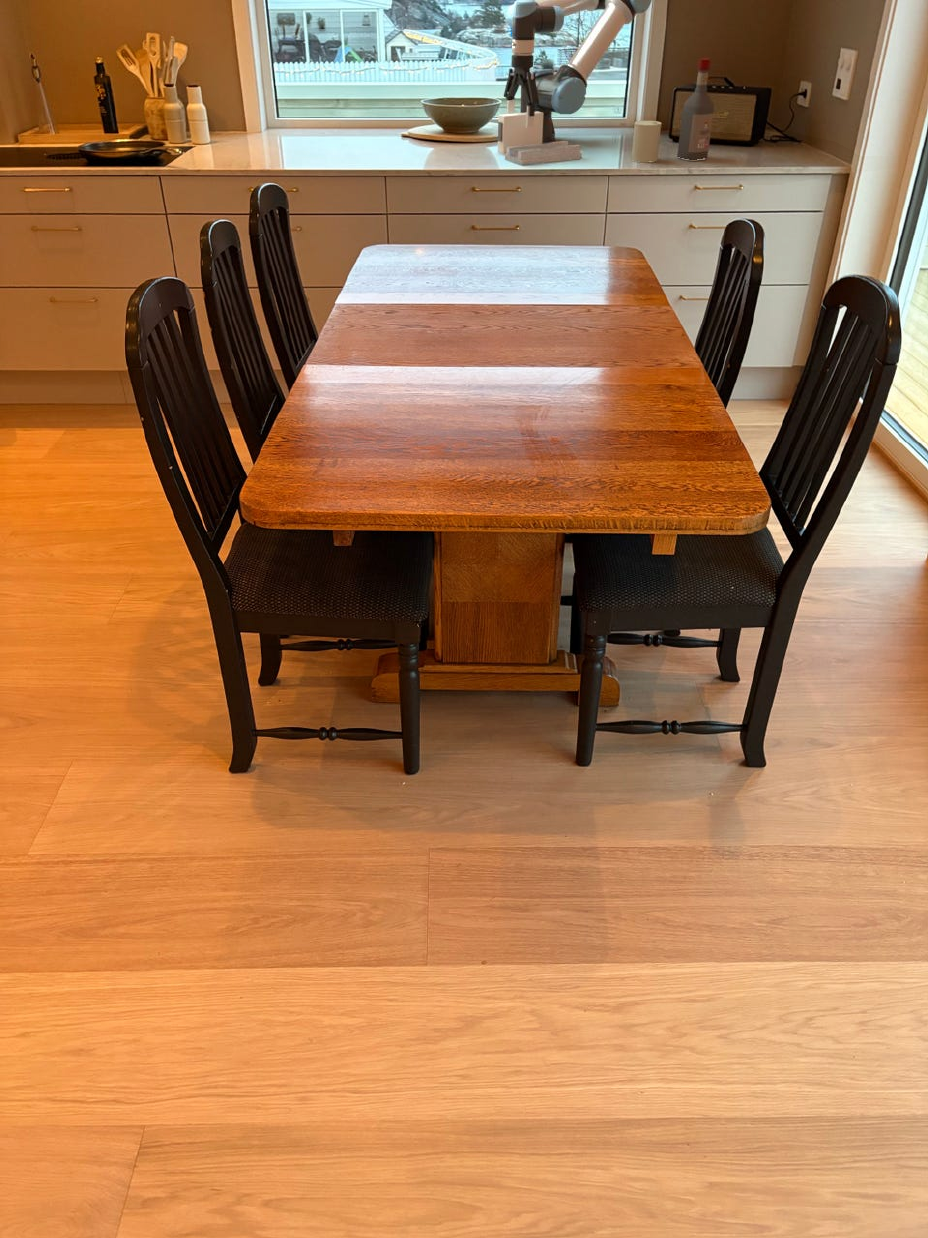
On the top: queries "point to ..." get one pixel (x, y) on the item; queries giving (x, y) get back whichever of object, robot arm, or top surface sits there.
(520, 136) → the door panel
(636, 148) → the can
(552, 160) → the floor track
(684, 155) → the liquor
